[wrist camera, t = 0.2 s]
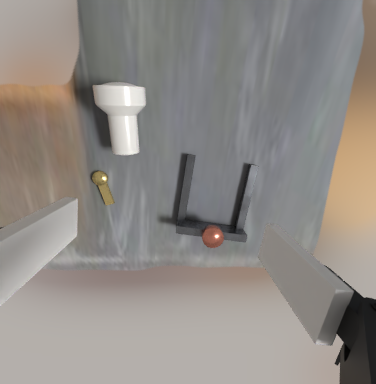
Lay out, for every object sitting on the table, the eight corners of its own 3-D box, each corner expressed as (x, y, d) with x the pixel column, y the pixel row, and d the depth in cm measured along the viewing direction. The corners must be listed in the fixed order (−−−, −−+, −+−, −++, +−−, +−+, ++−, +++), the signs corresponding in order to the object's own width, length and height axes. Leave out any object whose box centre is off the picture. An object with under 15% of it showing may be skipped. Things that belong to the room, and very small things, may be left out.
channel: (187, 154, 40) (188, 156, 34) (256, 165, 41) (268, 169, 35) (175, 230, 43) (174, 243, 38) (238, 238, 44) (246, 252, 39)
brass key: (91, 173, 40) (89, 173, 39) (105, 169, 40) (103, 169, 39) (104, 205, 42) (103, 206, 41) (117, 201, 42) (116, 202, 41)
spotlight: (151, 84, 35) (133, 81, 28) (154, 149, 40) (138, 160, 33) (108, 83, 36) (79, 80, 29) (116, 146, 41) (93, 157, 34)
